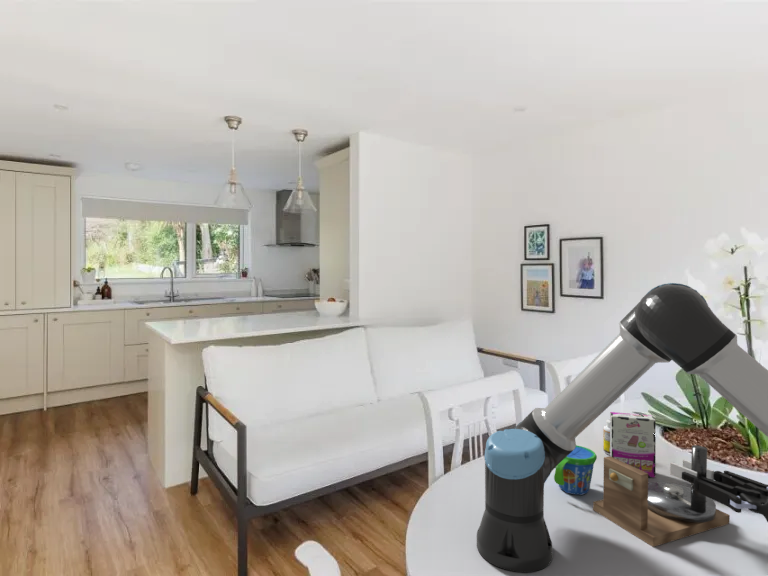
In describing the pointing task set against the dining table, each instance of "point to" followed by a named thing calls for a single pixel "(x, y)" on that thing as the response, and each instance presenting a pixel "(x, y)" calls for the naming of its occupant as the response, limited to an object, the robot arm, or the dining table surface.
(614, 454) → the candy bar box
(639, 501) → the levelling stand
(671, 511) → the dial
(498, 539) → the robot arm
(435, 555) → the dining table surface
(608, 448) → the supplement bottle
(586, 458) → the snack cup
